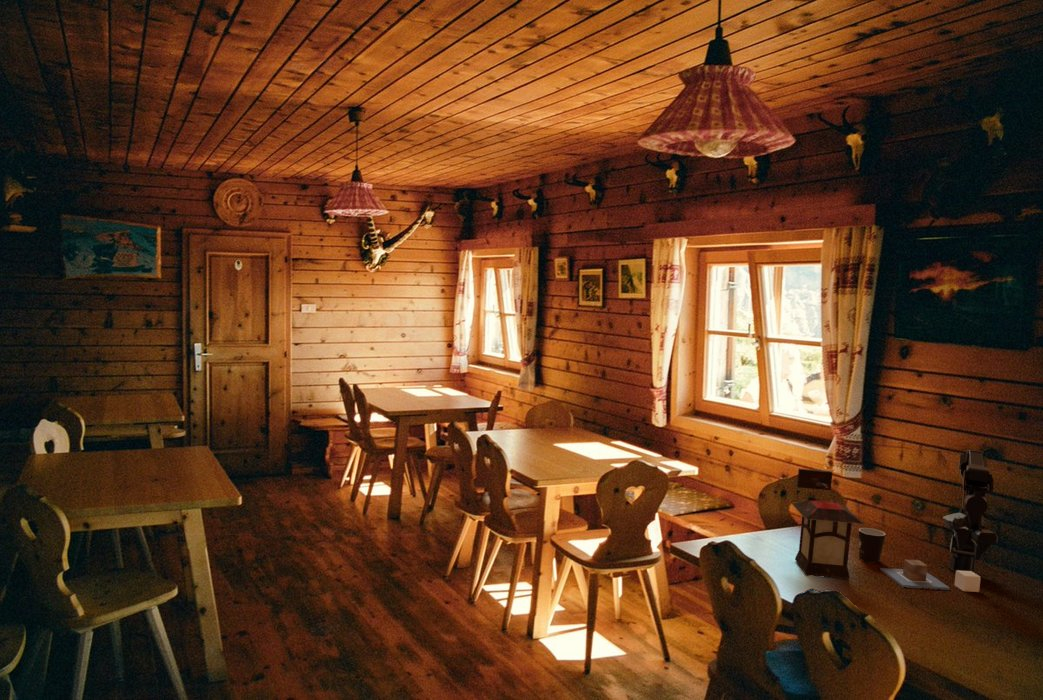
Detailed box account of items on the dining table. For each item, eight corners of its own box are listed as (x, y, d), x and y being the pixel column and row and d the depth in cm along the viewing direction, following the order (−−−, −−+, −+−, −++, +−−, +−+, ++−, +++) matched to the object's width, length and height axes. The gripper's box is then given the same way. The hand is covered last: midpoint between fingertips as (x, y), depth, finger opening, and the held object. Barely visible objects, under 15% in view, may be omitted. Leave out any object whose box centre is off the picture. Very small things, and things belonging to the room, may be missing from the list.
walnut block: (917, 575, 258) (919, 560, 257) (925, 580, 253) (927, 565, 252) (902, 574, 258) (904, 559, 257) (910, 579, 253) (912, 564, 252)
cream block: (969, 586, 253) (971, 571, 253) (978, 592, 248) (980, 576, 248) (954, 585, 253) (956, 570, 253) (963, 591, 248) (965, 576, 248)
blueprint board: (924, 572, 263) (924, 570, 263) (949, 590, 248) (949, 587, 248) (880, 570, 263) (880, 567, 263) (902, 587, 248) (903, 584, 248)
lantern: (834, 556, 275) (843, 472, 272) (859, 583, 249) (868, 491, 246) (780, 551, 276) (788, 467, 274) (799, 577, 251) (808, 485, 248)
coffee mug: (879, 566, 267) (882, 537, 266) (852, 559, 272) (855, 531, 271) (887, 558, 276) (890, 530, 275) (861, 551, 281) (864, 524, 281)
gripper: (933, 497, 258) (928, 543, 259) (965, 514, 239) (959, 563, 241) (966, 499, 258) (961, 545, 259) (1001, 516, 239) (995, 566, 241)
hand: (968, 554), depth 250 cm, fingers open, 9 cm apart
